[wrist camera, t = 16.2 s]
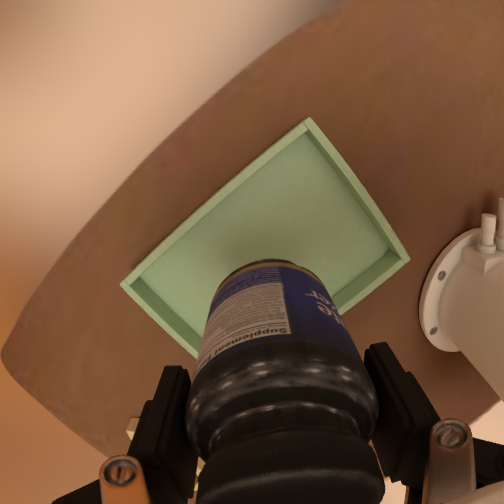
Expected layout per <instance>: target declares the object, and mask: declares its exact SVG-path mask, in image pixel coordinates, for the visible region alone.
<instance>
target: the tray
mask: <svg viewBox="0 0 504 504" xmlns="http://www.w3.org/2000/svg"><path fill="white" fill-rule="evenodd" d="M271 258H273V259H284V260H288V261H291V262H293V263H294V264H296V265H297V266H301V267H304V268H306V269H308V270H310V271H311V272H313V273H314V274H315V275H316V276H317V277H318V278H319V279H320V280H321V282H322V283H323V284H324V285H325V287H326V289H327V291H328V293H329V295H330V297H331V299H332V301H333V303H334V304H335V306H336V308H337V310H338V312H339V314H340V316H341V315H342V314H343V313H345V312H346V311H347V310H349V309H350V308H351V307H353V306H354V305H355V304H357V303H358V302H359V301H360V300H362V299H363V298H364V297H366V296H367V295H368V294H369V293H371V292H372V291H373V290H374V289H376V288H377V287H378V286H379V285H381V284H382V283H383V282H384V281H385V280H387V279H388V278H389V277H390V276H392V275H393V274H394V273H395V272H396V271H398V270H399V269H400V268H401V267H402V266H403V265H404V264H406V263H407V262H408V261H409V260H411V259H410V257H409V255H408V254H407V252H406V250H405V249H404V247H403V245H402V244H401V242H400V241H399V239H398V237H397V236H396V234H395V233H394V231H393V229H392V228H391V226H390V225H389V223H388V222H387V220H386V219H385V217H384V216H383V214H382V213H381V211H380V210H379V208H378V207H377V205H376V204H375V202H374V201H373V199H372V198H371V196H370V195H369V193H368V192H367V191H366V189H365V188H364V186H363V185H362V184H361V182H360V181H359V179H358V178H357V177H356V175H355V174H354V172H353V171H352V170H351V168H350V167H349V166H348V164H347V163H346V162H345V160H344V159H343V158H342V156H341V155H340V154H339V152H338V151H337V150H336V149H335V147H334V146H333V145H332V143H331V142H330V141H329V140H328V138H327V137H326V136H325V135H324V133H323V132H322V131H321V130H320V128H319V127H318V126H317V125H316V123H315V122H314V121H313V120H312V119H311V117H308V118H307V119H305V120H303V121H302V122H300V123H299V124H298V125H297V126H295V127H294V128H293V129H291V130H290V131H289V132H288V133H286V134H285V135H284V136H283V137H281V138H280V139H279V140H278V141H276V142H275V143H274V144H273V145H272V146H270V147H269V148H268V149H267V150H265V151H264V152H263V153H262V154H261V155H259V156H258V157H257V158H256V159H255V160H253V161H252V162H251V163H250V164H249V165H247V166H246V167H245V168H244V169H243V170H241V171H240V172H239V173H238V174H237V175H236V176H234V177H233V178H232V179H231V180H230V181H229V182H227V183H226V184H225V185H224V186H223V187H222V188H221V189H219V190H218V191H217V192H216V193H215V194H214V195H213V196H211V197H210V198H209V199H208V200H207V201H206V202H205V203H204V204H202V205H201V206H200V207H199V208H198V209H197V210H196V211H195V212H193V213H192V214H191V215H190V216H189V217H188V218H187V219H186V220H185V221H184V222H183V223H181V224H180V225H179V226H178V227H177V228H176V229H175V230H174V231H173V232H172V233H171V234H170V235H168V236H167V237H166V238H165V239H164V240H163V241H162V242H161V243H160V244H159V245H158V246H157V247H156V248H155V249H154V250H153V251H152V252H151V253H149V254H148V255H147V256H146V257H145V258H144V259H143V260H142V261H141V262H140V263H139V264H138V265H137V266H136V267H135V268H134V269H133V270H132V271H131V272H130V273H129V274H128V275H127V276H126V278H125V279H124V280H123V281H122V282H121V283H120V286H121V287H122V288H123V289H124V290H125V291H126V292H127V293H128V294H129V295H130V296H131V297H132V298H133V299H134V300H135V301H136V302H137V303H138V304H139V305H140V306H141V307H142V308H143V309H144V310H145V311H146V312H147V313H148V314H149V315H150V316H151V317H152V318H153V319H154V320H155V321H156V322H157V323H158V324H159V325H160V326H161V327H162V328H163V329H164V330H165V331H166V332H167V333H168V334H170V335H171V336H172V337H173V338H174V339H175V340H176V341H177V342H178V343H179V344H180V345H181V346H183V347H184V348H185V349H186V350H187V351H188V352H189V353H190V354H192V355H193V356H194V357H195V358H196V359H197V358H198V354H199V350H200V346H201V341H202V337H203V334H204V330H205V326H206V322H207V318H208V314H209V310H210V305H211V302H212V299H213V297H214V295H215V293H216V291H217V289H218V287H219V285H220V284H221V282H222V281H223V280H224V279H225V278H226V277H227V276H229V275H230V274H231V273H232V272H233V271H235V270H236V269H238V268H240V267H242V266H244V265H246V264H249V263H251V262H254V261H257V260H261V259H271Z"/></svg>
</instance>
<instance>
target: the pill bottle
mask: <svg viewBox="0 0 504 504" xmlns="http://www.w3.org/2000/svg"><path fill="white" fill-rule="evenodd" d="M378 417H379V401H378V394H377V391H376V389H375V387H374V384H373V382H372V380H371V378H370V376H369V374H368V372H367V370H366V367H365V365H364V363H363V361H362V359H361V357H360V355H359V353H358V351H357V349H356V347H355V345H354V343H353V340H352V338H351V336H350V334H349V332H348V330H347V328H346V326H345V324H344V322H343V320H342V318H341V316H340V314H339V312H338V310H337V308H336V306H335V304H334V303H333V301H332V299H331V297H330V295H329V293H328V291H327V289H326V287H325V285H324V284H323V283H322V282H321V280H320V279H319V278H318V277H317V276H316V275H315V274H314V273H313V272H311V271H310V270H308V269H306V268H304V267H301V266H297V265H296V264H294V263H293V262H291V261H288V260H284V259H273V258H271V259H261V260H257V261H254V262H251V263H249V264H246V265H244V266H242V267H240V268H238V269H236V270H235V271H233V272H232V273H231V274H230V275H229V276H227V277H226V278H225V279H224V280H223V281H222V282H221V284H220V285H219V287H218V289H217V291H216V293H215V295H214V297H213V299H212V302H211V305H210V310H209V314H208V318H207V322H206V326H205V330H204V334H203V337H202V341H201V346H200V350H199V354H198V358H197V362H196V366H195V370H194V375H193V379H192V383H191V387H190V391H189V395H188V400H187V404H186V410H185V416H184V424H185V430H186V433H187V437H188V440H189V441H190V444H191V446H192V448H193V449H194V451H195V453H196V454H197V456H199V457H200V458H201V459H202V460H203V461H204V462H205V464H204V466H203V468H202V470H201V471H200V473H199V476H198V491H197V497H196V504H379V503H380V502H381V501H382V498H383V496H384V493H385V483H384V479H383V476H382V473H381V470H380V468H379V464H378V461H377V456H376V454H375V452H374V451H373V448H372V447H371V446H370V445H369V444H368V443H369V441H370V439H371V437H372V436H373V434H374V431H375V429H376V426H377V422H378Z"/></svg>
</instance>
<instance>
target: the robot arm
mask: <svg viewBox="0 0 504 504" xmlns="http://www.w3.org/2000/svg"><path fill="white" fill-rule="evenodd" d="M498 220H499V224H498V231H496V230H495V225H496V215H493V214H487V213H484V214H482V216H481V227H480V228H474V229H471V230H469V231H467V232H464V233H462V234H461V235H460V236H458V237H457V238H455V239H454V240H453V241H452V242H451V243H450V244H449V245H448V246H447V247H446V248H445V249H444V250H443V251H442V253H441V254H440V255H439V256H438V258H437V259H436V261H435V262H434V264H433V266H432V268H431V269H430V271H429V273H428V276H427V278H426V280H425V283H424V286H423V289H422V293H421V297H420V304H419V320H420V324H421V328H422V330H423V332H424V334H425V336H426V337H427V339H428V340H429V341H430V342H431V343H432V344H433V345H434V346H435V347H437V348H438V349H440V350H443V351H447V352H457V351H461V352H462V353H463V354H464V355H465V356H466V358H467V359H468V360H469V361H470V362H471V363H472V365H473V366H474V367H475V368H476V369H477V370H478V372H479V373H480V374H481V375H482V376H483V377H484V379H485V380H486V381H487V382H488V383H489V385H490V386H491V387H492V388H493V389H494V391H495V392H496V393H497V394H498V396H499V397H500V398H501V399H502V401H503V402H504V198H499V207H498ZM364 365H365V367H366V370H367V372H368V374H369V376H370V378H371V380H372V382H373V384H374V387H375V389H376V391H377V394H378V401H379V417H378V422H377V426H376V429H375V431H374V434H373V436H372V437H371V440H372V442H373V445H374V448H375V451H376V453H377V456H378V459H379V462H380V465H381V468H382V471H383V473H384V475H385V477H388V476H390V479H391V482H392V483H394V482H397V481H400V480H401V483H402V484H403V485H405V486H406V494H405V501H404V504H504V445H501V444H496V443H493V442H489V441H485V440H481V439H477V438H473V437H472V433H471V429H470V427H469V426H468V425H467V424H466V423H465V422H463V421H462V420H459V419H455V418H448V419H443V420H441V419H440V417H439V416H438V414H437V412H436V411H435V409H434V407H433V406H432V404H431V402H430V401H429V399H428V398H427V396H426V394H425V393H424V391H423V389H422V388H421V386H420V385H419V383H418V381H417V380H416V378H415V377H414V375H413V374H412V373H411V372H405V371H404V369H403V368H402V366H401V364H400V363H399V361H398V360H397V358H396V356H395V355H394V353H393V352H392V350H391V349H390V347H389V345H388V344H387V343H386V342H381V343H376V344H371V345H370V347H369V349H366V350H365V356H364ZM190 387H191V380H190V377H189V374H188V371H187V369H183V368H182V367H181V366H180V365H179V366H165V367H164V370H163V373H162V376H161V378H160V381H159V384H158V387H157V390H156V393H155V396H154V398H153V400H148V401H146V403H145V405H144V408H143V410H142V413H141V416H140V419H139V421H138V424H137V427H136V430H135V433H134V436H133V438H132V441H131V444H130V447H129V450H128V453H127V455H117V456H114V457H111V458H109V459H108V460H106V461H105V462H104V463H103V465H102V466H101V468H100V471H99V479H98V480H96V481H94V482H92V483H90V484H88V485H86V486H83V487H82V488H79V489H77V490H75V491H73V492H71V493H69V494H66V495H64V496H62V497H60V498H58V499H56V500H55V501H53V502H52V504H187V502H188V498H191V499H192V498H193V494H194V487H195V480H196V472H197V465H198V458H199V456H197V454H196V453H195V451H194V449H193V448H192V446H191V444H190V441H189V440H188V437H187V433H186V430H185V424H184V416H185V410H186V404H187V400H188V395H189V391H190Z"/></svg>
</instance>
